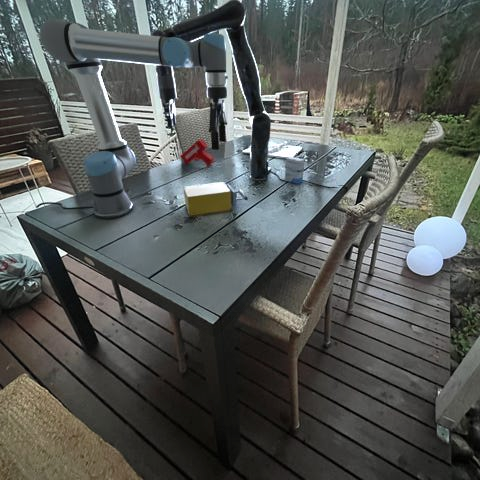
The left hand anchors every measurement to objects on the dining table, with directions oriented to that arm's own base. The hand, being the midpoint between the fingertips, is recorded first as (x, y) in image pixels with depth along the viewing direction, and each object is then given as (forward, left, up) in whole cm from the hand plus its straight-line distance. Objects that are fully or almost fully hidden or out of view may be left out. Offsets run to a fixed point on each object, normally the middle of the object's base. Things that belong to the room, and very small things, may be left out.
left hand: (219, 145), depth 112 cm
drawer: (0, -8, -23) cm, 24 cm away
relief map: (+35, +81, -24) cm, 91 cm away
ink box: (+37, +21, -24) cm, 49 cm away
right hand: (-23, +24, +4) cm, 33 cm away
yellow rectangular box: (-6, -10, -24) cm, 27 cm away
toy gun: (-16, +54, -24) cm, 61 cm away
